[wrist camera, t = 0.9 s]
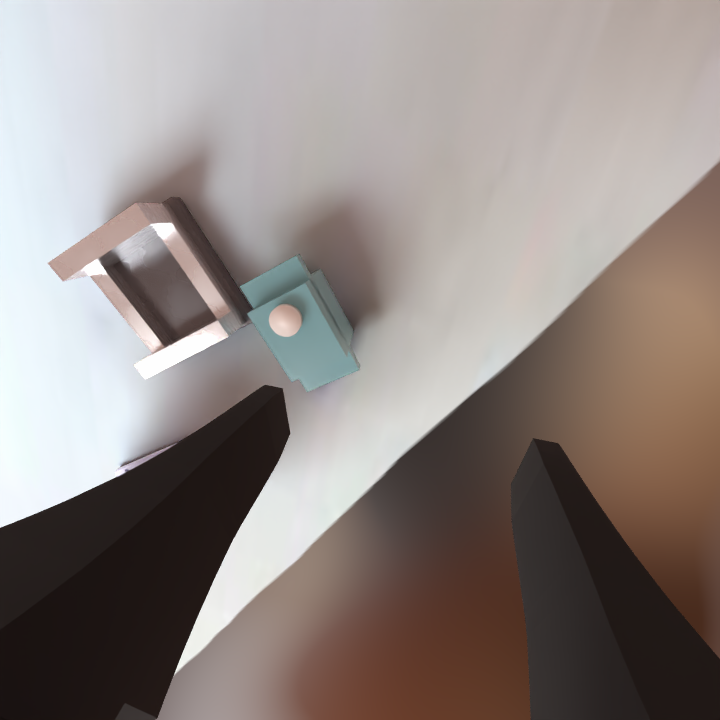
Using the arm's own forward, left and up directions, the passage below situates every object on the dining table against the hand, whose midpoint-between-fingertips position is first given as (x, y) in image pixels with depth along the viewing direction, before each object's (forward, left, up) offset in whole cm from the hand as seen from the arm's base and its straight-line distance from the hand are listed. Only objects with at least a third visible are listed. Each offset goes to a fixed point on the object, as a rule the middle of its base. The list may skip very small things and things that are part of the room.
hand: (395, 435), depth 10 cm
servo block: (-5, +2, -15) cm, 16 cm away
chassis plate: (-13, +8, -15) cm, 21 cm away
